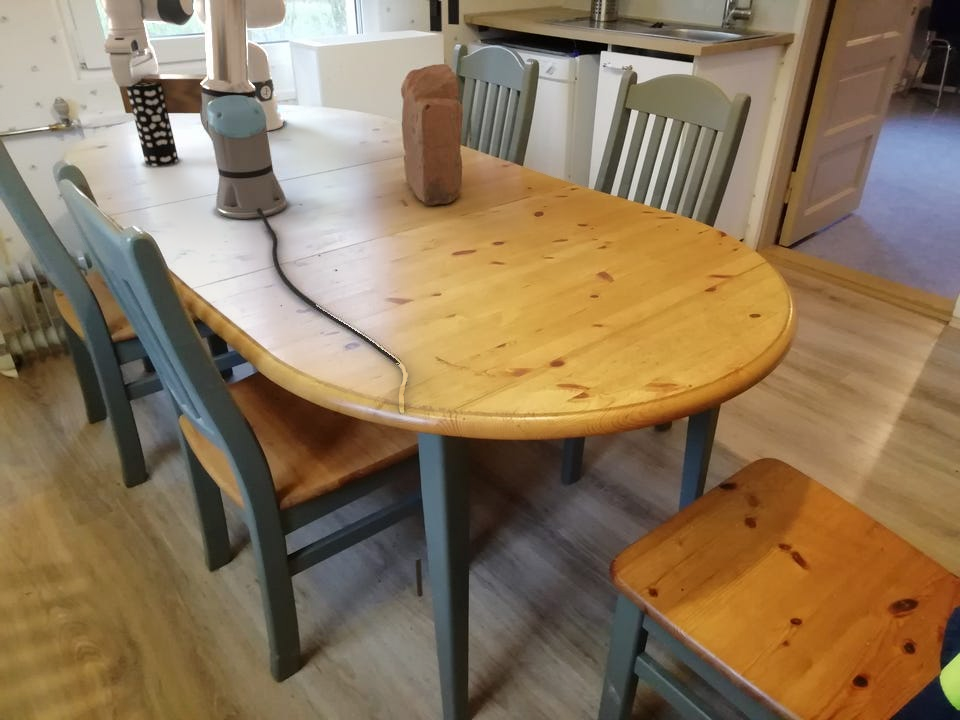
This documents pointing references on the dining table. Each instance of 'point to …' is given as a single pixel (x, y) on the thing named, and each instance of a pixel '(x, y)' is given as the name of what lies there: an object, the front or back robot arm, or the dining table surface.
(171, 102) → the box
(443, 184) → the stone
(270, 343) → the dining table surface
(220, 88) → the front robot arm
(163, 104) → the black white spotted cylinder
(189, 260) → the dining table surface
